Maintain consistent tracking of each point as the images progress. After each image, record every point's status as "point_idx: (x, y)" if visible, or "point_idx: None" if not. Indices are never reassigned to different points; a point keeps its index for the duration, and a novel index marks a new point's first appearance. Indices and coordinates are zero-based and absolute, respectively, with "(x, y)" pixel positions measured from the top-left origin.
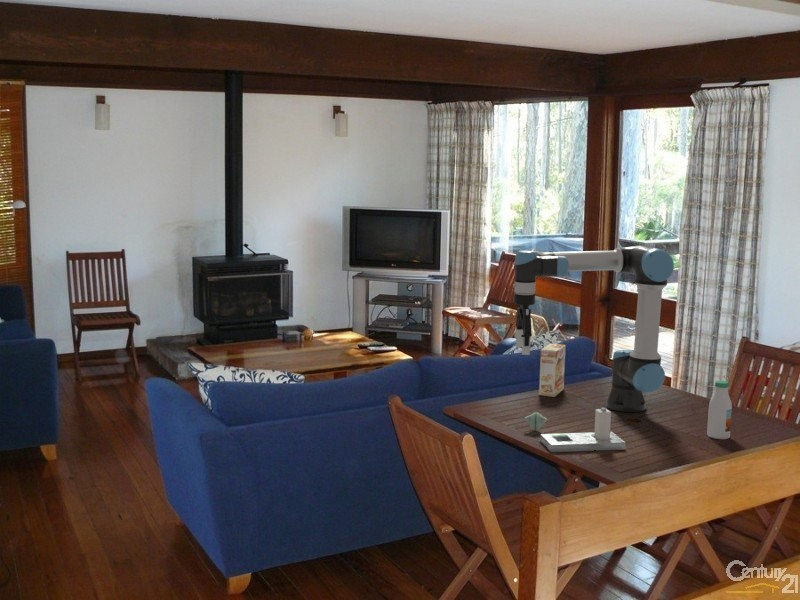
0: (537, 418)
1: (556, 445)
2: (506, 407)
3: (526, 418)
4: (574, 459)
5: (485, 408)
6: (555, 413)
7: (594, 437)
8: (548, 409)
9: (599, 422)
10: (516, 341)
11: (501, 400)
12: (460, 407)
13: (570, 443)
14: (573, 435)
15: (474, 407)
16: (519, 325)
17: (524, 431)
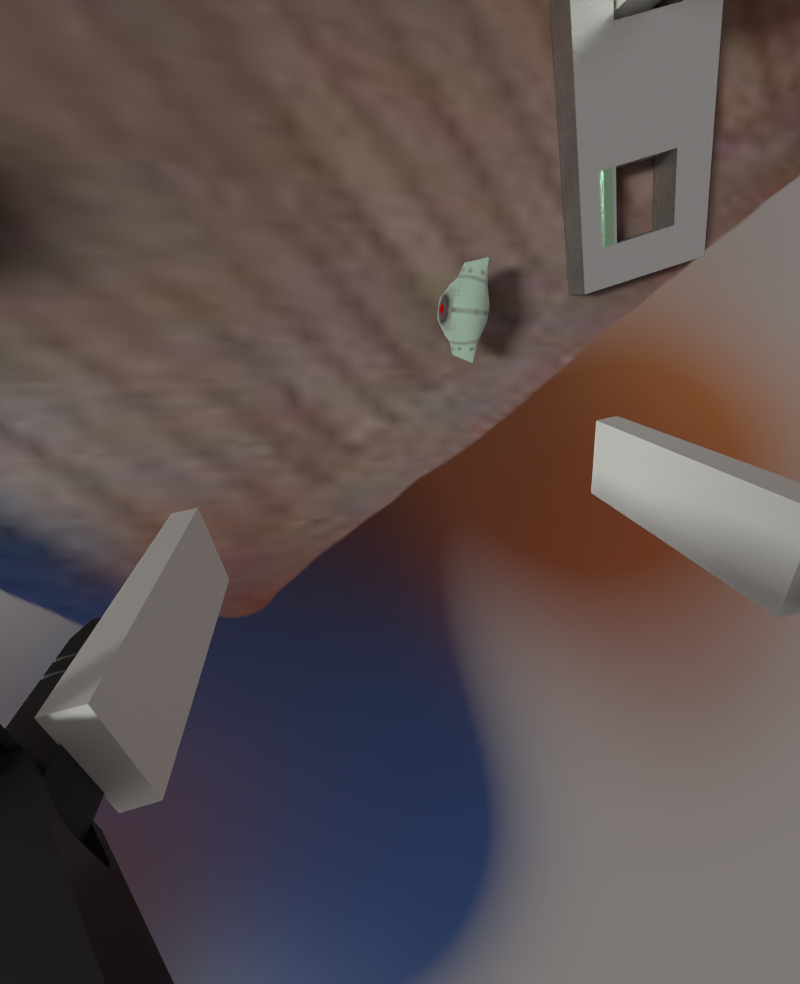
0: (489, 304)
1: (703, 234)
2: (131, 439)
3: (474, 354)
4: (761, 169)
5: None
6: (139, 187)
7: (621, 6)
8: (69, 225)
9: None
10: (211, 625)
11: (11, 469)
12: None
13: (702, 166)
14: (610, 133)
15: None
16: (121, 899)
17: None
